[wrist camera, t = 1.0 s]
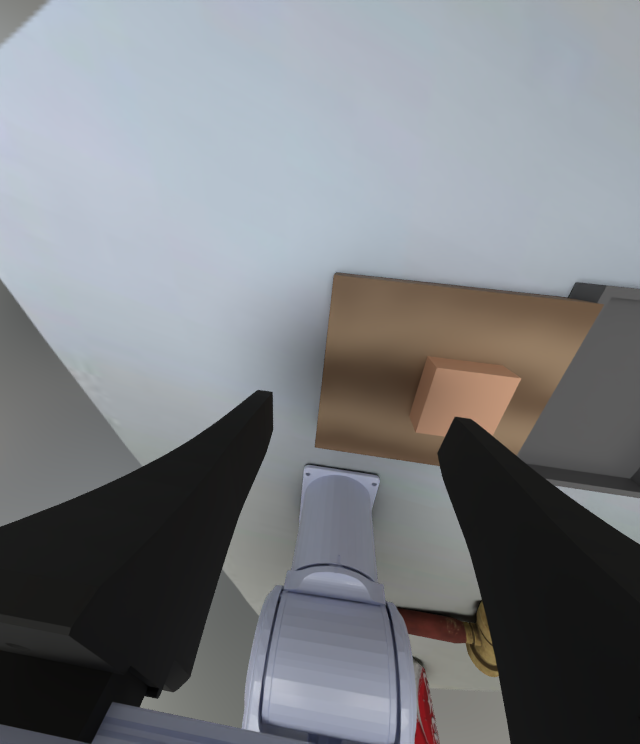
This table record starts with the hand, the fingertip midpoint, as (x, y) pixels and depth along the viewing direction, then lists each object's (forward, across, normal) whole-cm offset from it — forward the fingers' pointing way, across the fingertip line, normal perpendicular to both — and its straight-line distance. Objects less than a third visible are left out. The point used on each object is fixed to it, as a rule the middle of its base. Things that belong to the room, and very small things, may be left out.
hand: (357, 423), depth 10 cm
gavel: (+8, -17, +41) cm, 45 cm away
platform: (+11, -6, +3) cm, 13 cm away
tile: (+8, -8, +3) cm, 11 cm away
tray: (+11, -21, +3) cm, 24 cm away
